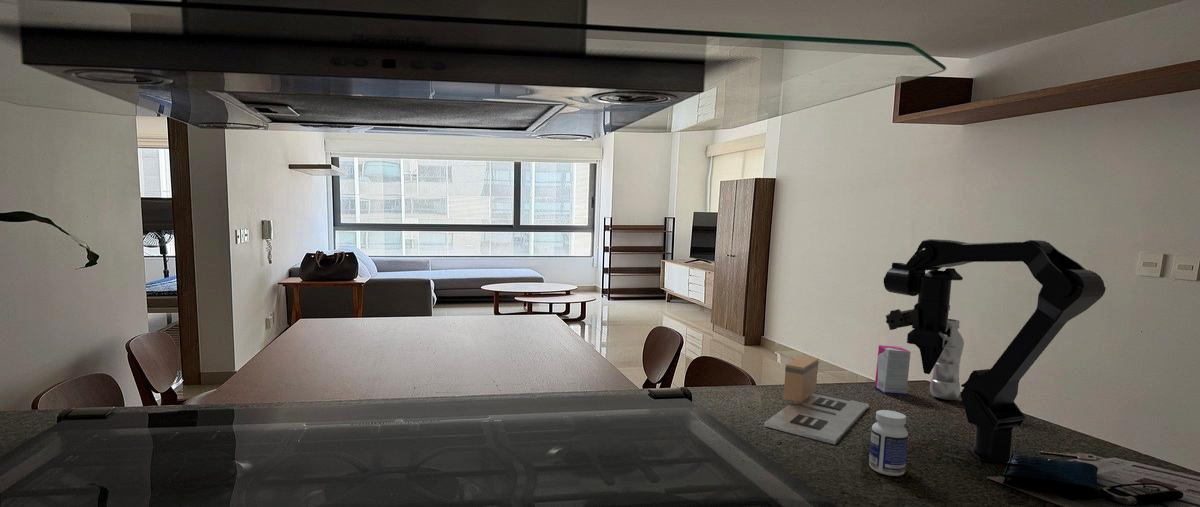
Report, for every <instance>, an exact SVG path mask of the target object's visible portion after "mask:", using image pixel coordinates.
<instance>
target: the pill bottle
mask: <svg viewBox="0 0 1200 507" xmlns="http://www.w3.org/2000/svg"><path fill="white" fill-rule="evenodd" d="M875 420H876V422H874V423H873V424H872V426H871V430H870V431H871V434H870V443H869V444H870V445H869V457H868V458H869V461H868V464H869V467H870V468H871V469H872V470H873V471H874V472H877V473H879V474H882V475H885V476H891V477H892V476H894V477H900V476H903V475H904V474H905V473H906V465H907V453H908V443H909V442H908V441H909V433H908V430H907V428H905V425H906V424H907V415H905V414H903V413H901V412H898V411H894V410H887V409H881V410H877V411H876V412H875Z"/></svg>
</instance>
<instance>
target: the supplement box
mask: <svg viewBox="0 0 1200 507" xmlns="http://www.w3.org/2000/svg"><path fill="white" fill-rule="evenodd" d="M877 351H878V352H877V359H876V360H877V362H876V370H875V378H874V389H875V390H877V391H879V392H880V393H882V394H883V395H890V396H893V395H894V396H906V395H907V393H908V392H907V391H908V390H907V389H908V380H909V372H910V363H911V362H910V360H911V351H909V350H908V349H905V348H903V347H901V346H895V345H894V346H892V345H880V344H879V345H878V350H877Z"/></svg>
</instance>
